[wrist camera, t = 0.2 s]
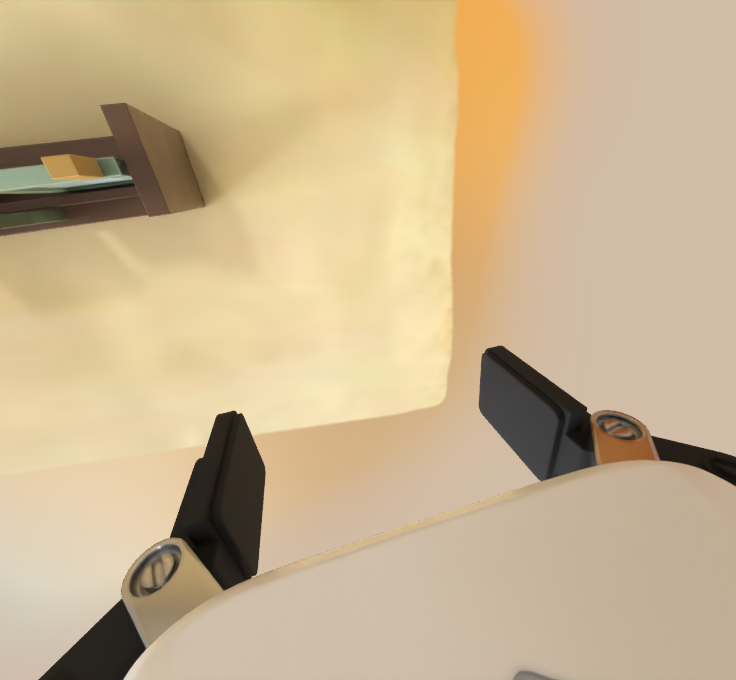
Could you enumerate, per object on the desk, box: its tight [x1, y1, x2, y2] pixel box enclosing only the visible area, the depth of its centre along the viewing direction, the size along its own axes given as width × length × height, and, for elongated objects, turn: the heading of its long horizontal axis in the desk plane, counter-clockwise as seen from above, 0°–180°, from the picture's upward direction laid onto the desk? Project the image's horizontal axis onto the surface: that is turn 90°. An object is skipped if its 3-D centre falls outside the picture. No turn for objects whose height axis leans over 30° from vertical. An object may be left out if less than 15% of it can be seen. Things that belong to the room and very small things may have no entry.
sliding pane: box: [0, 154, 134, 194], centre depth 24 cm, size 1×10×13 cm, turn 97°
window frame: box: [0, 103, 205, 236], centre depth 25 cm, size 7×24×12 cm, turn 97°
